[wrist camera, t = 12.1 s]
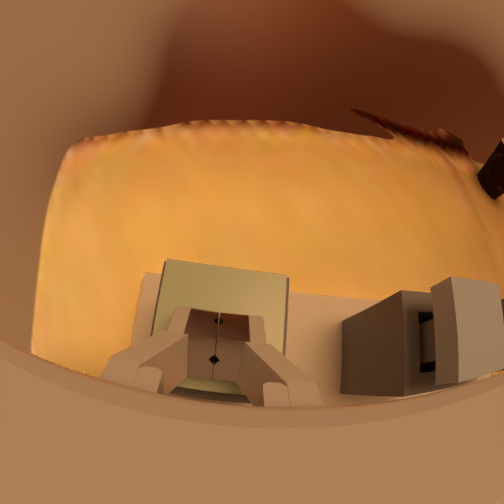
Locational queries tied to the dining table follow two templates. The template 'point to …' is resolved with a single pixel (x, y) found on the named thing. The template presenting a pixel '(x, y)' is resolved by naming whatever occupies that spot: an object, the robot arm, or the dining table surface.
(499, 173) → the coffee mug
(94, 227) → the dining table surface
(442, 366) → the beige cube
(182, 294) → the sage button
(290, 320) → the button console
